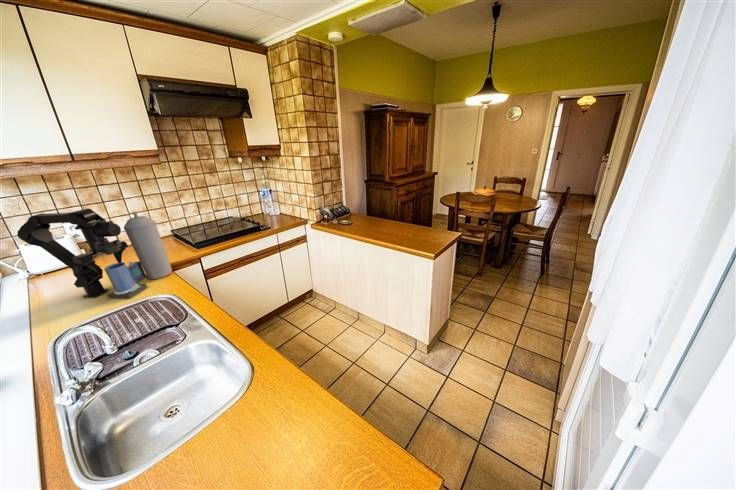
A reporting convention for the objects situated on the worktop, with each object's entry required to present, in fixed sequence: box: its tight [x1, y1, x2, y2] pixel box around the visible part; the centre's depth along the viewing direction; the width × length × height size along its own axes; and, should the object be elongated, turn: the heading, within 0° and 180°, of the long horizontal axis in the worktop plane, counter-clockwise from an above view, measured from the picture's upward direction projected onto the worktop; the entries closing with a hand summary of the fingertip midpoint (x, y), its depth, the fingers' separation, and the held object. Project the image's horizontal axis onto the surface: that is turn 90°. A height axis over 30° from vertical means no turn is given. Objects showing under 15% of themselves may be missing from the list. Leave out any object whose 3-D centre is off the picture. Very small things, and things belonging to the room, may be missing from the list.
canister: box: [123, 211, 173, 280], centre depth 136 cm, size 13×13×35 cm
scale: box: [107, 282, 148, 299], centre depth 127 cm, size 11×10×3 cm
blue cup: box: [104, 261, 135, 292], centre depth 124 cm, size 7×7×12 cm
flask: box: [126, 260, 147, 283], centre depth 137 cm, size 9×3×11 cm, turn 179°
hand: (110, 268), depth 124 cm, fingers open, 9 cm apart
